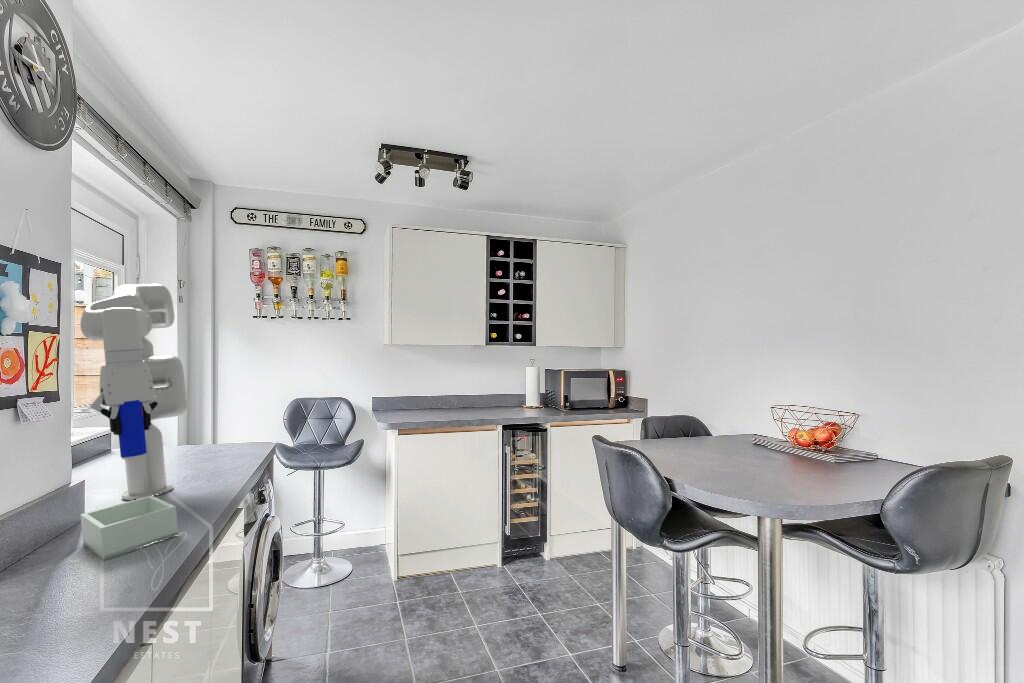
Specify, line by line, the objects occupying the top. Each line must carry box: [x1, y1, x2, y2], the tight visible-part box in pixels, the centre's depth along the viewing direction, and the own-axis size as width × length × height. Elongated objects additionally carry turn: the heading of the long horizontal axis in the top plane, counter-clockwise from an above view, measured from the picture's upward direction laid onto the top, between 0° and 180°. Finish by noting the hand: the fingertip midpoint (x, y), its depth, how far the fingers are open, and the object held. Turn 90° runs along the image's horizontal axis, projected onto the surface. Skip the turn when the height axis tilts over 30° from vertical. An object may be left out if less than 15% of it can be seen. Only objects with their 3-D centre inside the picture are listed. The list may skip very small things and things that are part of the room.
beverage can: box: [117, 397, 147, 461], centre depth 124 cm, size 5×5×15 cm
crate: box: [79, 495, 179, 561], centre depth 117 cm, size 16×14×7 cm
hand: (131, 431), depth 124 cm, fingers closed on beverage can, 5 cm apart
